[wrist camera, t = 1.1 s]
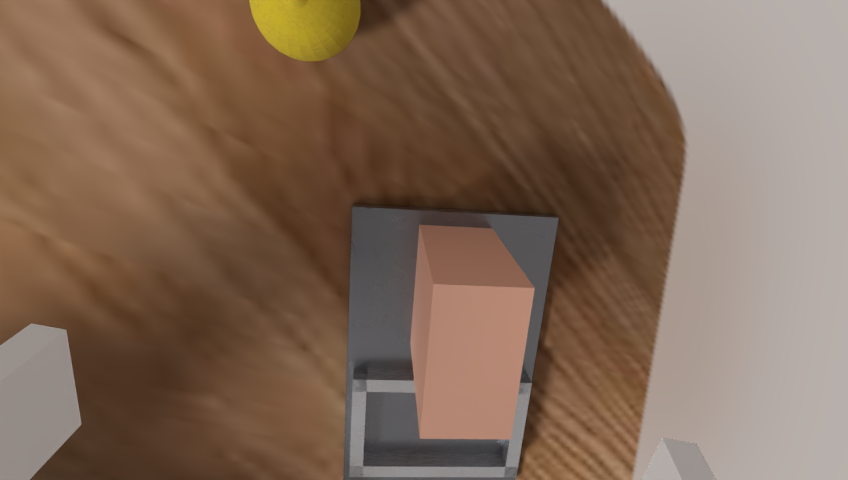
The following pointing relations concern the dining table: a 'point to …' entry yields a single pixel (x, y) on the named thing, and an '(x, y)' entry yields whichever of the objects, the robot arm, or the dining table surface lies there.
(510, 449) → the pocket plate
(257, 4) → the lemon
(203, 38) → the dining table surface
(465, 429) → the terracotta block
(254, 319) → the dining table surface
